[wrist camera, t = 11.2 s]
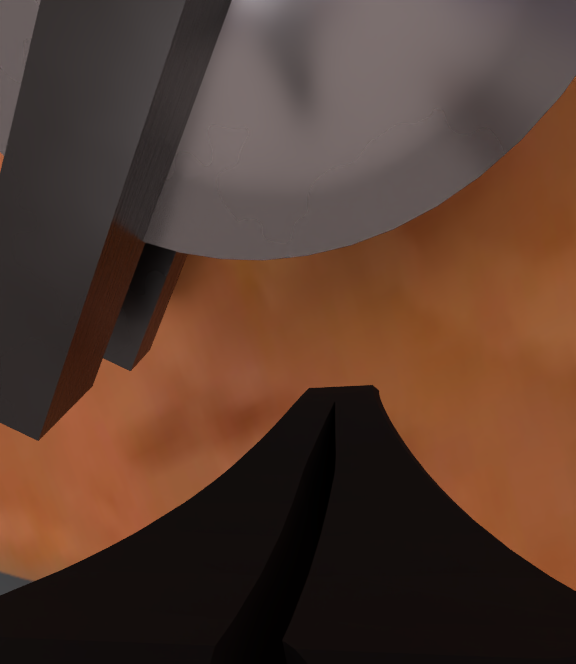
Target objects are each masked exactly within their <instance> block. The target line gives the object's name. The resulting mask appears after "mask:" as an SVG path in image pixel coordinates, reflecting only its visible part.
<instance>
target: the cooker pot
mask: <svg viewBox="0 0 576 664" xmlns="http://www.w3.org/2000/svg"><path fill="white" fill-rule="evenodd" d="M186 257H187V254H186V253H180V252H176V251H173V250H170V249H166V248H163V247H159V246H156V245H152V244H149V243H145V245H144V248H143V250H142V253H141V256H140V259H139V261H138V264H137V267H136V269H135V272H134V275H133V278H132V280H131V283H130V286H129V288H128V291H127V294H126V297H125V299H124V302H123V305H122V307H121V310H120V313H119V316H118V318H117V321H116V324H115V326H114V329H113V332H112V334H111V337H110V340H109V343H108V345H107V348H106V351H105V353H104V356H103V358H104V359H106V360H108V361H110V362H112V363H114V364H117V365H119V366H121V367H123V368H125V369H127V370H129V371H131V370H132V369H133V368H134V367H135V366H136V365H137V364H138V362H139V361H140V360H141V359H142V358H143V357H144V356H145V355H146V354H147V352H148V351H149V350H150V348H151V346H152V343H153V341H154V338H155V336H156V333H157V331H158V328H159V325H160V323H161V320H162V318H163V315H164V313H165V310H166V308H167V305H168V303H169V300H170V297H171V295H172V292H173V290H174V287H175V285H176V282H177V280H178V277H179V275H180V272H181V269H182V267H183V264H184V262H185V259H186Z"/></svg>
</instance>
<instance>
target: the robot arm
mask: <svg viewBox="0 0 576 664" xmlns="http://www.w3.org/2000/svg"><path fill="white" fill-rule="evenodd" d="M0 664H576V591H574V590H573V589H571V588H569V587H567V586H566V585H564V584H562V583H560V582H559V581H557V580H555V579H554V578H552V577H550V576H549V575H547V574H546V573H544V572H543V571H541V570H540V569H538V568H537V567H535V566H534V565H532V564H531V563H529V562H528V561H526V560H525V559H524V558H522V557H521V556H519V555H518V554H516V553H515V552H513V551H512V550H510V549H509V548H508V547H507V546H505V545H504V544H503V543H502V542H500V541H499V540H498V539H497V538H495V537H494V536H493V535H492V534H490V533H489V532H488V531H487V530H485V529H484V528H483V527H482V526H480V525H479V524H478V523H477V522H475V521H474V520H473V519H472V518H471V517H470V516H469V515H468V514H467V513H466V512H465V511H463V510H462V509H461V508H460V507H459V506H458V505H457V504H456V503H455V502H454V501H453V500H452V499H451V498H450V497H449V496H448V495H447V494H446V493H445V492H444V491H443V490H442V489H441V488H440V487H439V486H438V484H437V483H436V482H435V481H434V480H433V479H432V478H431V477H430V475H429V474H428V473H427V472H426V471H425V470H424V468H423V467H422V466H421V464H420V463H419V462H418V461H417V459H416V458H415V457H414V456H413V454H412V453H411V451H410V450H409V449H408V447H407V446H406V444H405V443H404V441H403V440H402V438H401V437H400V435H399V434H398V432H397V431H396V429H395V427H394V426H393V424H392V422H391V421H390V419H389V417H388V415H387V413H386V411H385V409H384V407H383V405H382V402H381V399H380V396H379V390H378V389H377V388H375V387H374V386H373V385H365V386H344V387H324V388H309V389H308V390H307V391H306V392H305V393H304V394H303V395H302V396H301V397H300V398H299V399H298V400H297V401H296V402H295V404H294V405H293V406H292V407H291V408H290V409H289V410H288V411H287V412H286V414H285V415H284V416H283V417H282V418H281V419H280V420H279V421H278V422H277V423H276V425H275V426H274V427H273V428H272V429H271V430H270V431H269V432H268V433H267V434H266V435H265V436H264V437H263V438H262V439H261V440H260V441H259V442H258V443H257V444H256V445H255V446H254V447H253V448H252V449H250V450H249V451H248V452H247V453H246V454H245V455H244V456H243V457H242V458H241V459H240V460H239V461H237V462H236V463H235V464H234V465H233V466H232V467H231V468H230V469H228V470H227V471H226V472H225V473H224V474H222V475H221V476H220V477H219V478H217V479H216V480H215V481H214V482H212V483H211V484H210V485H208V486H207V487H205V488H204V489H203V490H201V491H200V492H199V493H197V494H196V495H195V496H193V497H192V498H190V499H189V500H188V501H186V502H185V503H183V504H182V505H180V506H178V507H177V508H175V509H174V510H172V511H170V512H169V513H167V514H165V515H164V516H162V517H161V518H159V519H157V520H156V521H154V522H153V523H151V524H149V525H148V526H146V527H145V528H143V529H141V530H140V531H138V532H136V533H134V534H133V535H131V536H129V537H127V538H125V539H123V540H121V541H120V542H118V543H116V544H114V545H112V546H110V547H108V548H106V549H104V550H102V551H100V552H98V553H96V554H94V555H92V556H90V557H88V558H86V559H84V560H82V561H80V562H78V563H76V564H74V565H71V566H69V567H67V568H65V569H63V570H60V571H58V572H56V573H53V574H51V575H49V576H46V577H44V578H41V579H39V580H37V581H34V582H32V583H29V584H27V585H25V586H22V587H20V588H17V589H15V590H12V591H10V592H8V593H5V594H3V595H0Z"/></svg>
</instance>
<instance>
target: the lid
mask: <svg viewBox="0 0 576 664" xmlns="http://www.w3.org/2000/svg"><path fill="white" fill-rule="evenodd" d="M575 76H576V0H0V152H1V153H2V154H3V155H4V159H3V164H2V168H1V172H0V423H2V424H4V425H6V426H8V427H10V428H12V429H15V430H17V431H19V432H21V433H23V434H25V435H27V436H29V437H31V438H33V439H35V440H38V441H39V440H40V439H41V438H42V437H43V436H44V435H45V434H46V433H47V432H48V431H49V430H50V429H51V428H52V427H53V426H54V425H55V424H56V423H57V422H58V421H59V420H60V418H61V417H62V416H63V415H64V414H65V413H66V412H67V411H68V410H69V409H70V408H71V407H72V406H73V405H74V404H75V403H76V402H77V401H78V400H79V399H80V398H81V397H82V396H83V395H84V394H85V393H86V392H87V391H88V390H89V389H90V388H91V387H92V386H93V383H94V381H95V378H96V375H97V372H98V370H99V367H100V364H101V362H102V359H103V356H104V353H105V351H106V348H107V345H108V343H109V340H110V337H111V334H112V332H113V329H114V326H115V324H116V321H117V318H118V316H119V313H120V310H121V307H122V305H123V302H124V299H125V297H126V294H127V291H128V288H129V286H130V283H131V280H132V278H133V275H134V272H135V269H136V267H137V264H138V261H139V259H140V256H141V253H142V250H143V248H144V245H145V243H149V244H152V245H156V246H159V247H163V248H166V249H170V250H173V251H176V252H180V253H186V254H193V255H199V256H205V257H212V258H218V259H240V260H270V259H280V258H289V257H299V256H308V255H312V254H316V253H320V252H325V251H329V250H333V249H337V248H341V247H346V246H350V245H353V244H355V243H358V242H361V241H363V240H366V239H369V238H371V237H374V236H377V235H379V234H382V233H385V232H387V231H390V230H392V229H395V228H397V227H399V226H400V225H402V224H404V223H406V222H408V221H410V220H412V219H414V218H416V217H417V216H419V215H421V214H423V213H425V212H427V211H429V210H431V209H433V208H435V207H436V206H438V205H439V204H441V203H442V202H444V201H445V200H447V199H448V198H450V197H451V196H452V195H454V194H455V193H457V192H458V191H460V190H461V189H463V188H464V187H465V186H467V185H468V184H470V183H471V182H473V181H474V180H476V179H477V178H478V177H480V176H481V175H482V174H483V173H484V172H485V171H487V170H488V169H489V168H490V167H491V166H492V165H493V164H495V163H496V162H497V161H498V160H499V159H500V158H501V157H502V156H504V155H505V154H506V153H507V152H508V151H509V150H510V149H512V148H513V147H514V146H515V145H516V144H517V143H518V142H519V141H521V140H522V139H523V137H524V136H525V135H526V134H527V133H528V132H529V131H530V130H531V129H532V127H533V126H534V125H535V124H536V123H537V122H538V121H539V120H540V119H541V117H542V116H543V115H544V114H545V113H546V112H547V111H548V110H549V109H550V107H551V106H552V105H553V104H554V103H555V102H556V101H557V100H558V99H559V98H560V96H561V95H562V94H563V92H564V91H565V90H566V88H567V87H568V85H569V84H570V83H571V81H572V80H573V79H574V77H575Z"/></svg>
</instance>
